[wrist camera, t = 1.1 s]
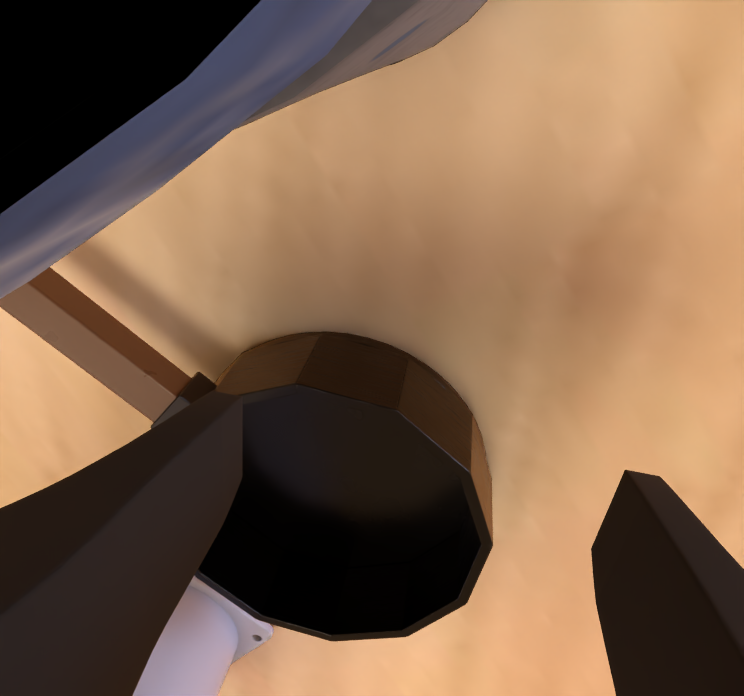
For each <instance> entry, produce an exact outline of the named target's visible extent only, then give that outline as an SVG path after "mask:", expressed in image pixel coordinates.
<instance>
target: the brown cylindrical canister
mask: <svg viewBox="0 0 744 696" xmlns="http://www.w3.org/2000/svg"><path fill="white" fill-rule="evenodd" d="M486 1H487V0H0V299H1V298H3V297H4V296H6V295H7V294H9V293H11V292H12V291H14V290H16V289H17V288H19V287H20V286H22V285H24V284H25V283H27V282H29V281H30V280H32V279H33V278H35V277H36V276H37V275H39V274H40V273H42V272H43V271H44V270H46V269H47V268H49V267H50V266H51V265H53V264H54V263H56V262H57V261H59V260H60V259H61V258H63V257H64V256H66V255H67V254H68V253H70V252H71V251H73V250H74V249H75V248H77V247H78V246H80V245H81V244H82V243H84V242H85V241H87V240H88V239H90V238H91V237H92V236H94V235H95V234H97V233H98V232H99V231H101V230H102V229H104V228H105V227H106V226H108V225H109V224H111V223H112V222H113V221H115V220H116V219H118V218H119V217H120V216H122V215H123V214H125V213H126V212H128V211H129V210H130V209H132V208H133V207H135V206H136V205H137V204H139V203H140V202H142V201H143V200H144V199H146V198H147V197H149V196H150V195H151V194H153V193H154V192H156V191H157V190H158V189H160V188H161V187H162V186H163V185H165V184H166V183H167V182H168V181H170V180H171V179H172V178H173V177H175V176H176V175H177V174H178V173H180V172H181V171H182V170H183V169H185V168H186V167H187V166H188V165H190V164H191V163H192V162H193V161H195V160H196V159H197V158H198V157H200V156H201V155H202V154H203V153H205V152H206V151H207V150H208V149H210V148H211V147H212V146H213V145H215V144H216V143H217V142H218V141H220V140H221V139H222V138H223V137H225V136H226V135H227V134H228V133H230V132H231V131H232V130H234V129H236V128H239V127H241V126H244V125H246V124H248V123H251V122H253V121H255V120H258V119H260V118H262V117H264V116H266V115H269V114H271V113H273V112H275V111H278V110H280V109H282V108H284V107H286V106H289V105H291V104H293V103H295V102H298V101H300V100H302V99H305V98H307V97H309V96H311V95H314V94H316V93H318V92H321V91H323V90H326V89H329V88H331V87H334V86H336V85H339V84H341V83H344V82H346V81H349V80H351V79H354V78H356V77H359V76H362V75H364V74H367V73H369V72H372V71H374V70H377V69H379V68H382V67H384V66H387V65H392V64H395V63H398V62H400V61H402V60H405V59H407V58H409V57H411V56H413V55H415V54H418V53H420V52H422V51H424V50H426V49H429V48H431V47H433V46H435V45H436V44H437V43H439V42H440V41H442V40H443V39H444V38H446V37H447V36H448V35H450V34H451V33H452V32H454V31H455V30H457V29H458V28H459V27H461V26H462V25H463V24H465V23H466V22H467V21H468V20H469V19H470V18H471V17H472V16H473V15H474V14H475V13H476V12H477V11H478V10H479V9H480V8H481V7H482V6H483V4H484V3H485V2H486Z"/></svg>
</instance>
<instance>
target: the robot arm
mask: <svg viewBox="0 0 744 696" xmlns="http://www.w3.org/2000/svg"><path fill="white" fill-rule="evenodd" d="M242 420H243V396H238V395H232V394H227V393H222V392H217V391H211V392H209V393H208V394H206V395H204V396H203V397H201V398H199V399H198V400H196V401H195V402H193V403H192V404H190V405H188V406H187V407H185V408H184V409H182V410H181V411H179V412H178V413H176V414H175V415H173V416H171V417H170V418H168V419H167V420H165V421H164V422H162V423H160V424H159V425H157V426H156V427H154V428H152V429H151V430H149V431H148V432H146V433H144V434H143V435H141V436H139V437H138V438H136V439H135V440H133V441H131V442H130V443H128V444H126V445H125V446H123V447H121V448H119V449H118V450H116V451H114V452H112V453H110V454H109V455H107V456H105V457H103V458H101V459H100V460H98V461H96V462H94V463H92V464H91V465H89V466H87V467H85V468H84V469H82V470H80V471H78V472H76V473H74V474H73V475H71V476H69V477H67V478H65V479H63V480H61V481H59V482H57V483H55V484H53V485H51V486H49V487H47V488H44V489H42V490H40V491H38V492H36V493H34V494H31V495H29V496H27V497H25V498H23V499H21V500H18V501H16V502H14V503H12V504H9V505H7V506H5V507H2V508H0V696H218V694H219V692H220V689H221V687H222V684H223V682H224V679H225V677H226V674H227V671H228V669H229V666H230V664H232V663H234V662H235V661H237V660H238V659H240V658H241V657H243V656H244V655H246V654H247V653H249V652H250V651H252V650H254V649H255V648H257V647H258V646H260V645H261V644H263V643H264V642H266V641H267V640H269V639H270V638H271V637H272V634H273V631H274V629H273V627H272V626H271V625H270V624H269V623H266V622H262V621H259V620H257V619H255V618H253V617H252V616H251V615H249V614H248V613H246V612H245V611H243V610H242V609H241V608H239V607H238V606H236V605H235V604H233V603H232V602H230V601H229V600H228V599H226V598H225V597H223V596H222V595H220V594H219V593H218V592H216V591H215V590H213V589H212V588H210V587H209V586H207V585H206V584H205V583H203V582H202V581H200V580H199V579H197V578H196V577H195V576H194V575H195V573H196V571H197V570H198V568H199V566H200V564H201V563H202V561H203V559H204V557H205V556H206V554H207V552H208V550H209V549H210V547H211V545H212V543H213V541H214V540H215V538H216V536H217V534H218V532H219V531H220V529H221V527H222V525H223V523H224V521H225V519H226V516H227V514H228V512H229V509H230V507H231V505H232V502H233V500H234V497H235V495H236V492H237V490H238V487H239V485H240V482H241V480H242ZM591 551H592V565H593V578H594V588H595V598H596V605H597V610H598V615H599V619H600V624H601V629H602V633H603V638H604V643H605V647H606V652H607V656H608V661H609V665H610V669H611V674H612V678H613V683H614V687H615V692H616V696H744V569H743V568H742V567H741V566H740V565H739V564H738V563H737V562H736V560H735V559H734V558H733V557H732V556H731V555H730V554H729V553H728V552H727V551H726V549H725V548H724V547H723V546H722V545H721V544H720V543H719V542H718V541H717V539H716V538H715V537H714V536H713V535H712V534H711V533H710V531H709V530H708V529H707V528H706V527H705V526H704V525H703V524H702V522H701V521H700V520H699V519H698V518H697V517H696V516H695V515H694V513H693V512H692V511H691V510H690V509H689V508H688V507H687V505H686V504H685V503H684V502H683V501H682V500H681V499H680V498H679V496H678V495H677V494H676V493H675V492H674V491H673V490H672V489H671V488H670V487H669V485H668V484H667V483H666V482H665V481H664V480H663V479H662V478H661V477H660V476H655V475H650V474H645V473H639V472H634V471H629V470H625V471H624V474H623V476H622V478H621V481H620V483H619V485H618V488H617V490H616V492H615V495H614V497H613V499H612V502H611V504H610V506H609V509H608V511H607V513H606V516H605V518H604V520H603V522H602V525H601V527H600V529H599V532H598V534H597V536H596V539H595V541H594V543H593V546H592V548H591Z"/></svg>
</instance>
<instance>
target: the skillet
mask: <svg viewBox="0 0 744 696" xmlns="http://www.w3.org/2000/svg"><path fill="white" fill-rule="evenodd" d="M0 307H1V308H2V309H4V310H5V311H6V312H8V313H9V314H10V315H12V316H13V317H14V318H16V319H17V320H18V321H20V322H21V323H22V324H24V325H25V326H26V327H28V328H29V329H30V330H32V331H33V332H34V333H36V334H37V335H38V336H40V337H41V338H42V339H44V340H45V341H46V342H48V343H49V344H50V345H52V346H53V347H54V348H56V349H57V350H58V351H60V352H61V353H62V354H64V355H65V356H66V357H68V358H69V359H70V360H72V361H73V362H74V363H76V364H77V365H78V366H80V367H81V368H82V369H84V370H85V371H86V372H88V373H89V374H90V375H92V376H93V377H94V378H95V379H97V380H98V381H99V382H101V383H102V384H103V385H105V386H106V387H107V388H109V389H110V390H111V391H113V392H114V393H115V394H117V395H118V396H119V397H121V398H122V399H123V400H125V401H126V402H127V403H129V404H130V405H131V406H133V407H134V408H135V409H137V410H138V411H139V412H141V413H142V414H143V415H145V416H146V417H147V418H149V419H150V420H151V421H153V422H154V423H153V424H152V425H151V429H152V428H154V427H156V426H157V425H159V424H160V423H162V422H164V421H165V420H167V419H168V418H170V417H171V416H173V415H175V414H176V413H178V412H179V411H181V410H182V409H184V408H185V407H187V406H188V405H190V404H192V403H193V402H195V401H196V400H198V399H199V398H201V397H203V396H204V395H206V394H208V393H209V392H211V391H217V392H222V393H227V394H232V395H238V396H243V420H242V480H241V482H240V485H239V487H238V490H237V492H236V495H235V497H234V500H233V502H232V505H231V507H230V509H229V512H228V514H227V516H226V519H225V521H224V523H223V525H222V527H221V529H220V531H219V532H218V534H217V536H216V538H215V540H214V541H213V543H212V545H211V547H210V549H209V550H208V552H207V554H206V556H205V557H204V559H203V561H202V563H201V564H200V566H199V568H198V570H197V571H196V573H195V575H194V576H195V577H196V578H197V579H199V580H200V581H202V582H203V583H205V584H206V585H207V586H209V587H210V588H212V589H213V590H215V591H216V592H218V593H219V594H220V595H222V596H223V597H225V598H226V599H228V600H229V601H230V602H232V603H233V604H235V605H236V606H238V607H239V608H241V609H242V610H243V611H245V612H246V613H248V614H249V615H251V616H252V617H253V618H255V619H257V620H259V621H262V622H266V623H269V624H273V625H276V626H280V627H283V628H287V629H290V630H294V631H297V632H301V633H304V634H308V635H311V636H315V637H318V638H322V639H325V640H329V641H348V640H364V639H380V638H397V637H406V636H409V635H411V634H413V633H415V632H417V631H418V630H420V629H422V628H424V627H426V626H428V625H429V624H431V623H433V622H435V621H437V620H438V619H440V618H442V617H444V616H446V615H447V614H449V613H451V612H453V611H455V610H457V609H458V608H460V607H462V606H464V605H465V604H466V603H467V602H468V600H469V598H470V595H471V593H472V591H473V589H474V586H475V584H476V582H477V580H478V578H479V575H480V573H481V571H482V569H483V566H484V564H485V562H486V560H487V558H488V555H489V553H490V551H491V549H492V546H493V521H492V478H491V475H490V471H489V468H488V465H487V461H486V453H485V448H484V443H483V439H482V436H481V433H480V430H479V428H478V425H477V423H476V421H475V419H474V417H473V414H472V413H471V411H470V410H469V408H468V406H467V405H466V404H465V402H464V401H463V400H462V398H461V397H460V396H459V394H458V393H457V392H456V391H455V390H454V389H453V388H452V387H451V386H450V385H449V384H448V383H447V382H446V381H445V380H444V379H443V378H442V377H441V376H440V375H439V374H438V373H436V372H435V371H434V370H433V369H431V368H430V367H429V366H427V365H426V364H425V363H423V362H421V361H420V360H418V359H416V358H415V357H413V356H411V355H410V354H408V353H406V352H404V351H402V350H400V349H397V348H395V347H393V346H391V345H389V344H386V343H383V342H379V341H376V340H373V339H370V338H367V337H362V336H357V335H352V334H346V333H334V332H309V333H301V334H294V335H288V336H284V337H281V338H278V339H274V340H271V341H268V342H266V343H264V344H261V345H259V346H257V347H255V348H253V349H251V350H249V351H245V352H243V353H242V354H241V355H240V356H239V357H238V358H237V359H236V360H235V361H234V362H233V363H232V364H231V365H230V366H229V367H228V368H227V369H226V370H225V371H224V372H223V373H222V375H221V376H220V377H219V379H218V380H217V381H216V382H215V383H213V382H212V381H211V380H209V379H208V378H207V377H205V376H204V375H203V374H202V373H200V372H197V373H196V374H195V375H194V377H193V378H190V377H189V376H188V375H186V374H185V373H184V372H183V371H181V370H180V369H179V368H178V367H176V366H175V365H174V364H172V363H171V362H170V361H169V360H167V359H166V358H165V357H164V356H162V355H161V354H160V353H158V352H157V351H156V350H155V349H153V348H152V347H151V346H150V345H148V344H147V343H146V342H144V341H143V340H142V339H141V338H139V337H138V336H137V335H135V334H134V333H133V332H132V331H130V330H129V329H128V328H127V327H125V326H124V325H123V324H121V323H120V322H119V321H118V320H116V319H115V318H114V317H113V316H111V315H110V314H109V313H107V312H106V311H105V310H104V309H102V308H101V307H100V306H99V305H97V304H96V303H95V302H93V301H92V300H91V299H90V298H88V297H87V296H86V295H85V294H83V293H82V292H81V291H79V290H78V289H77V288H76V287H74V286H73V285H72V284H71V283H69V282H68V281H67V280H65V279H64V278H63V277H62V276H60V275H59V274H58V273H56V272H55V271H54V270H53V269H51V268H50V267H49V268H47V269H46V270H44V271H43V272H42V273H40V274H39V275H37V276H36V277H35V278H33V279H32V280H30V281H29V282H27V283H25V284H24V285H22V286H20V287H19V288H17V289H16V290H14V291H12V292H11V293H9V294H7V295H6V296H4V297H3V298H1V299H0Z"/></svg>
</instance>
